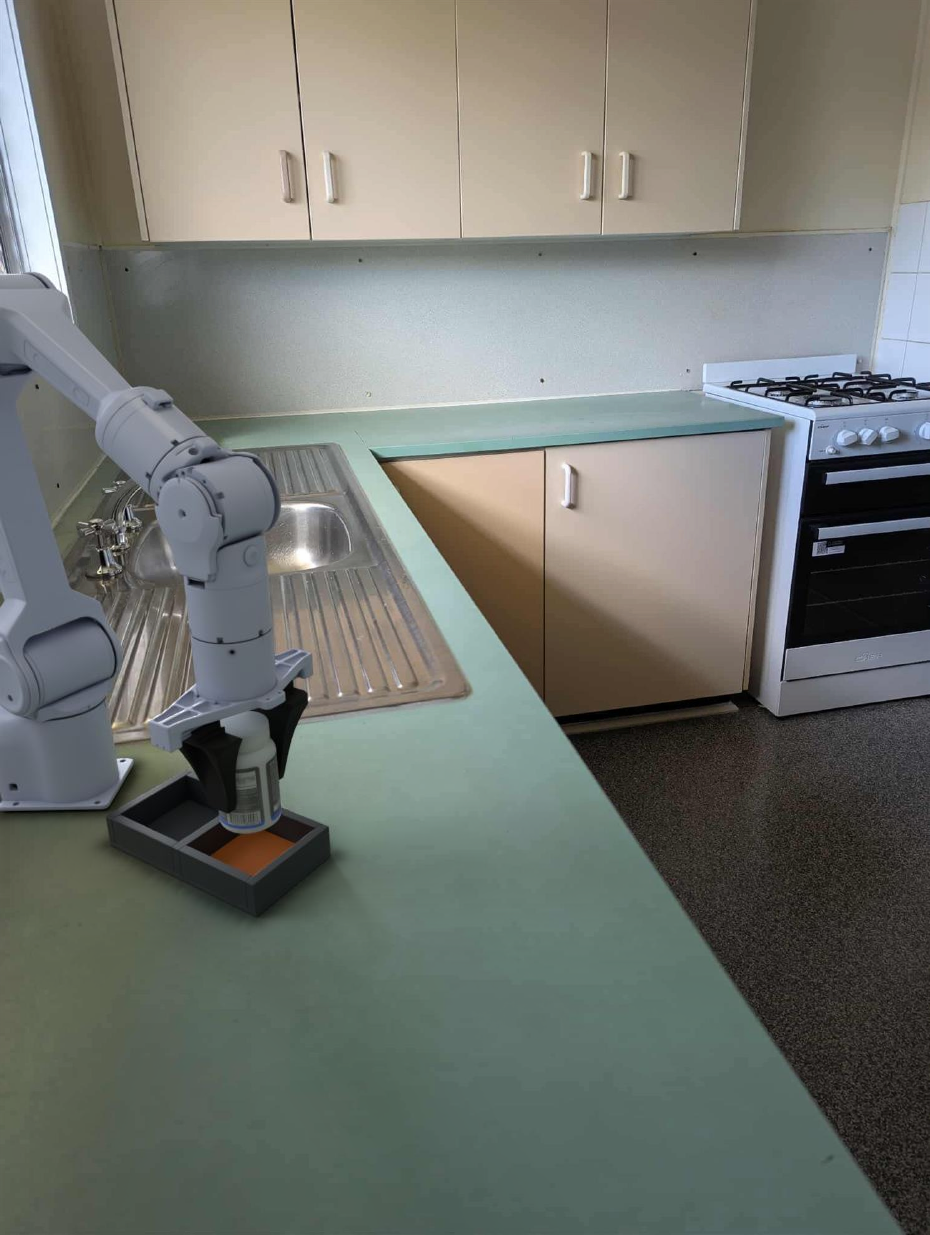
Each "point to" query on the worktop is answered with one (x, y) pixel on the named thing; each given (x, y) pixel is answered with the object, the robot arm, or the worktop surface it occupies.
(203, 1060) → the worktop surface
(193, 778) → the tray
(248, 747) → the pill bottle
